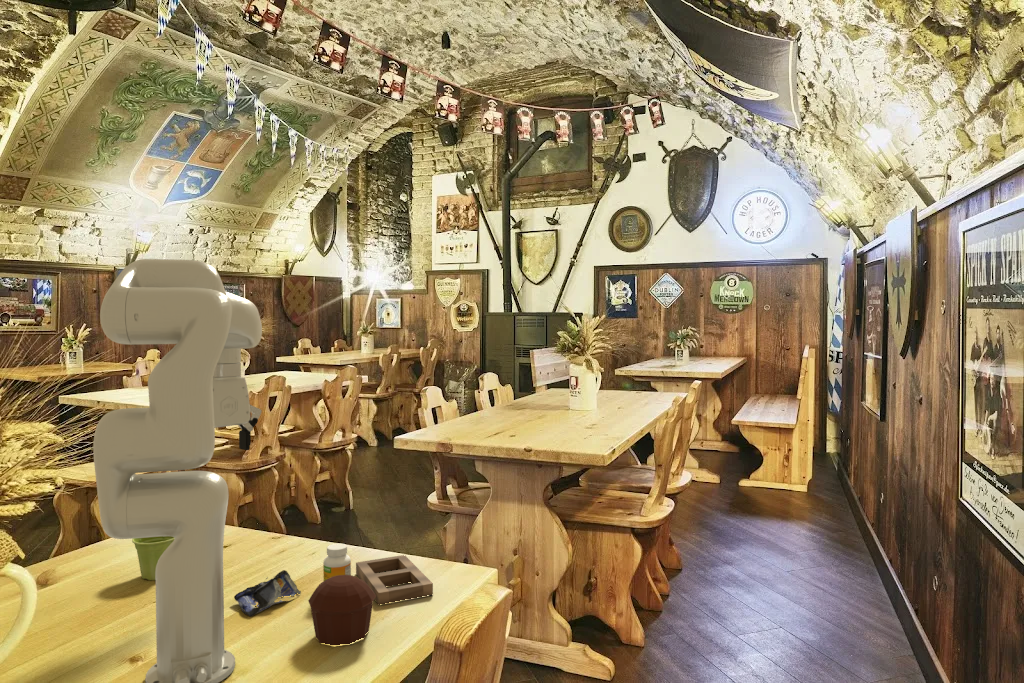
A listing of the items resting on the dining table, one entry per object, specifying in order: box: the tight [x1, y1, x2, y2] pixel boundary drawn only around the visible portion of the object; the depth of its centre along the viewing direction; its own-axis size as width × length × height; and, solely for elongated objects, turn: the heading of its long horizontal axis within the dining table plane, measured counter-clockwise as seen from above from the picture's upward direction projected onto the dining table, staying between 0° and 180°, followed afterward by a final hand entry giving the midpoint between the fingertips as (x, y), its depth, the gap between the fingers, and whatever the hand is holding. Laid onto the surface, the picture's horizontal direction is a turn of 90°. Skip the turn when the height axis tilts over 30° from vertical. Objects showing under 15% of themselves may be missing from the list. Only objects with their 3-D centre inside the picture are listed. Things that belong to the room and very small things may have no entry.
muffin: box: [307, 574, 376, 645], centre depth 119 cm, size 12×11×10 cm
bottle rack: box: [355, 554, 434, 606], centre depth 142 cm, size 19×11×2 cm, turn 26°
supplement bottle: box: [322, 542, 352, 581], centre depth 137 cm, size 5×5×10 cm
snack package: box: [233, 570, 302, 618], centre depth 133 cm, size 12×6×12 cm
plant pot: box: [131, 536, 175, 581], centre depth 148 cm, size 9×9×9 cm
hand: (222, 452), depth 143 cm, fingers open, 9 cm apart
